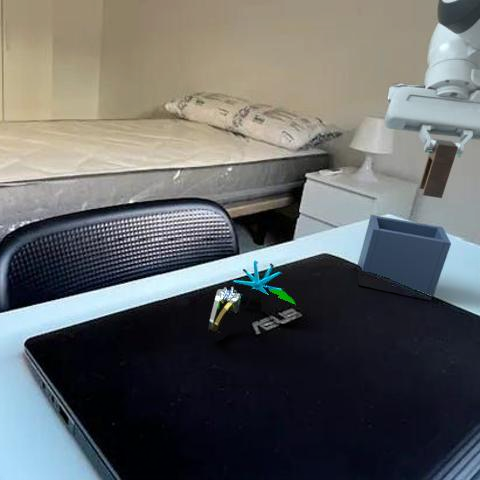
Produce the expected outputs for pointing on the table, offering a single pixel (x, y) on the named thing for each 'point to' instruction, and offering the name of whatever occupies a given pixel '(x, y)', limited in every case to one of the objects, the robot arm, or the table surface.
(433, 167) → the brown wooden block
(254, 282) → the blue flower
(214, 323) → the ring
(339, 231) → the table surface
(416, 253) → the box
